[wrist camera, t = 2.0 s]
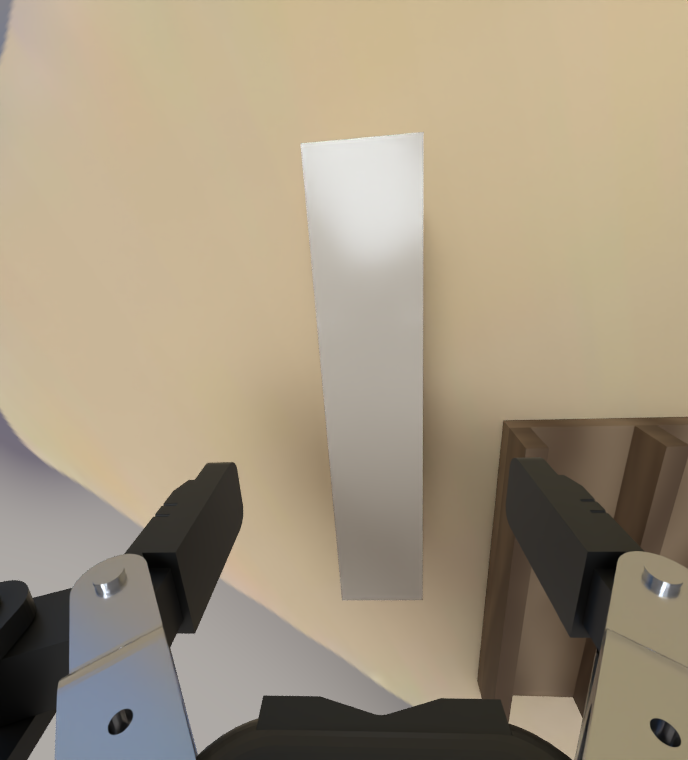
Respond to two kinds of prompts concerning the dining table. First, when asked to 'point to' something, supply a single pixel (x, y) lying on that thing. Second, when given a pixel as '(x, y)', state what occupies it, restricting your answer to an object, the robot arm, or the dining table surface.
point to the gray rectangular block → (371, 353)
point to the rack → (619, 498)
